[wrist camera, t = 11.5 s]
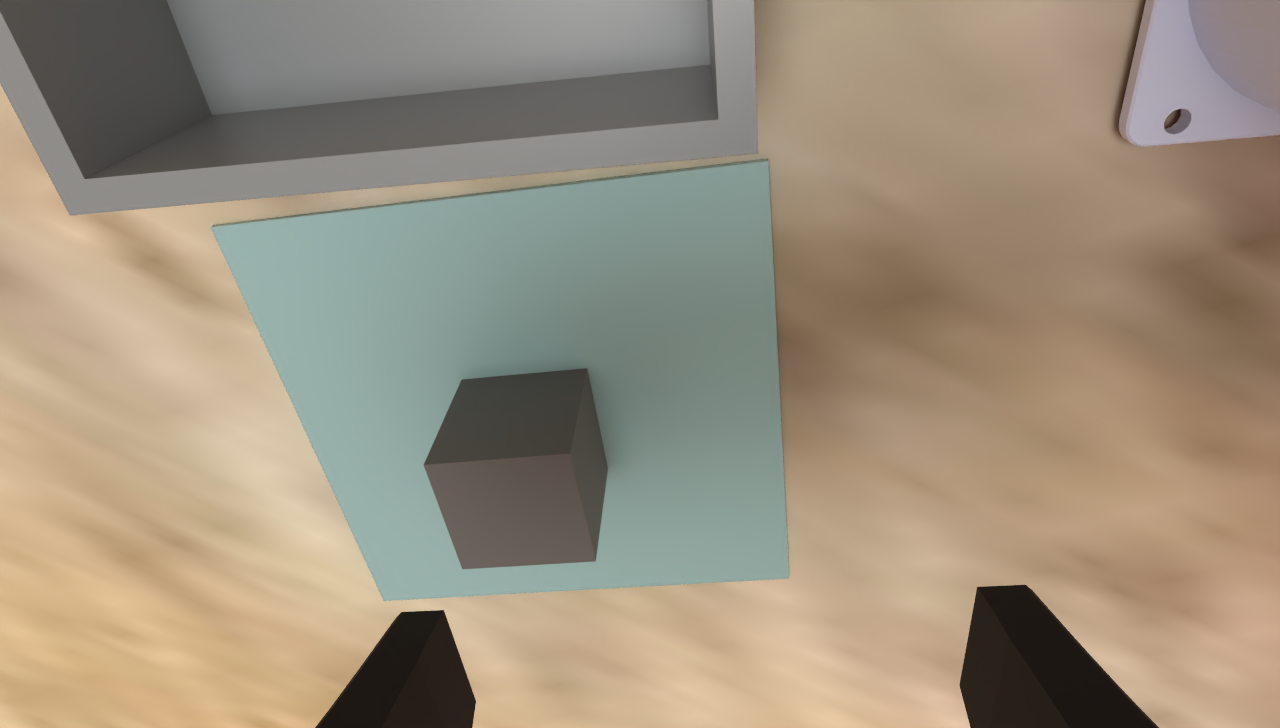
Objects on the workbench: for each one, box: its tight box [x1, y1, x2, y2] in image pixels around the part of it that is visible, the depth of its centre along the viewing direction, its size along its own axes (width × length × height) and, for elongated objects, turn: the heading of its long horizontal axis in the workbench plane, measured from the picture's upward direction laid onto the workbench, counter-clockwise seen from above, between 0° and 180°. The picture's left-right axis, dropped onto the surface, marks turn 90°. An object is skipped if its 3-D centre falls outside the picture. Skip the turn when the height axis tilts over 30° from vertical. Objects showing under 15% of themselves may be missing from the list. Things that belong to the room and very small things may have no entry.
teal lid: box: [211, 159, 789, 601], centre depth 20 cm, size 14×14×4 cm
